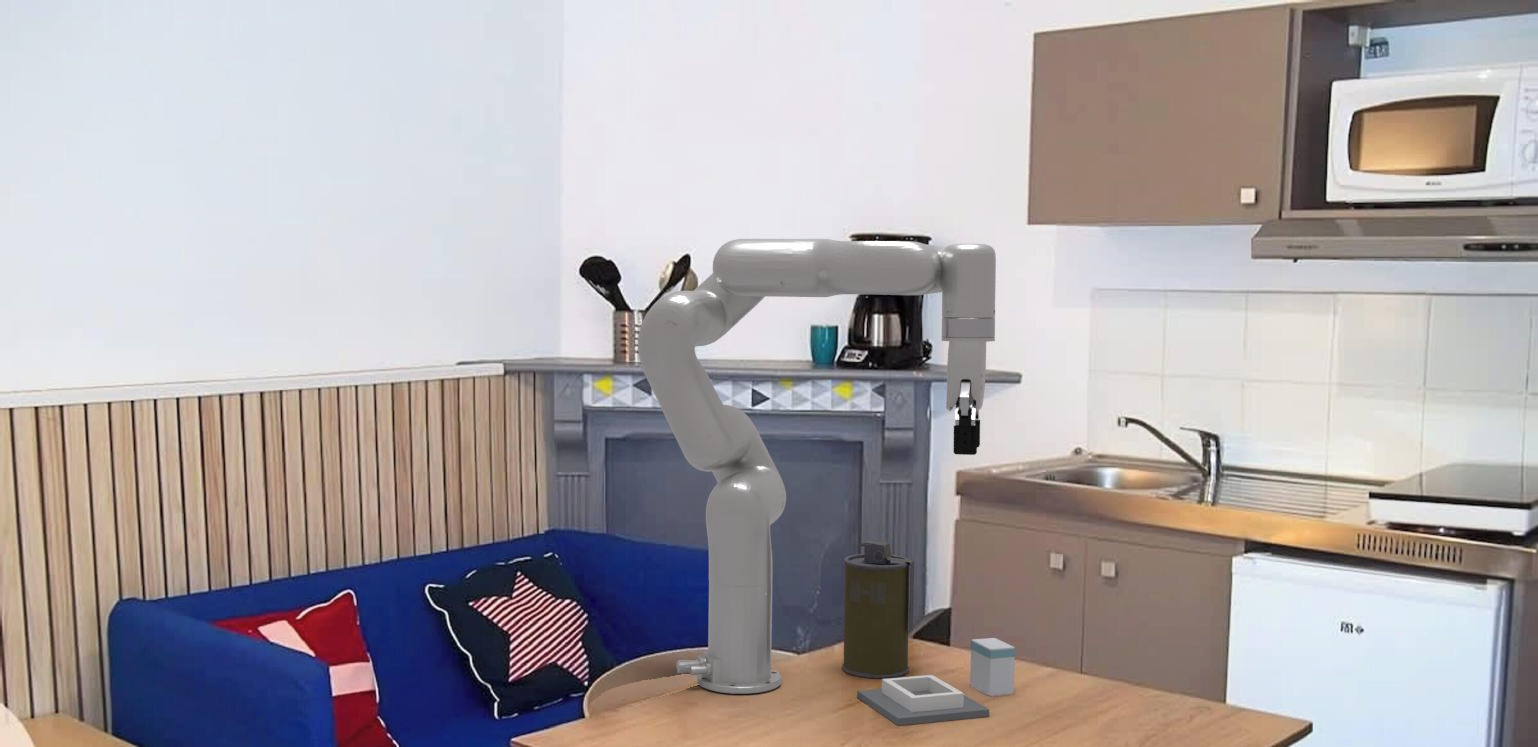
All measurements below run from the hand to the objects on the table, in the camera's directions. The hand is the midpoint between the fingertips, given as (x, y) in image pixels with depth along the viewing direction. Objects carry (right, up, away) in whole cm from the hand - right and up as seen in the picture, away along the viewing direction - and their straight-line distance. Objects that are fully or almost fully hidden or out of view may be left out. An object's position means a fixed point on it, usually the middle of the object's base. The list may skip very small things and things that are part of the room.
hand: (966, 450), depth 203 cm
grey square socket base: (-6, -37, -1) cm, 37 cm away
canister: (-11, -36, +19) cm, 42 cm away
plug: (+5, -36, +9) cm, 38 cm away
